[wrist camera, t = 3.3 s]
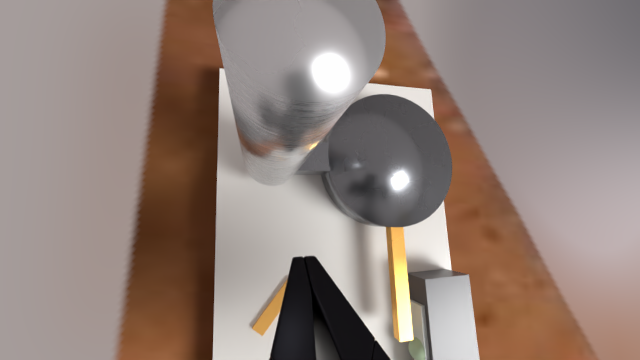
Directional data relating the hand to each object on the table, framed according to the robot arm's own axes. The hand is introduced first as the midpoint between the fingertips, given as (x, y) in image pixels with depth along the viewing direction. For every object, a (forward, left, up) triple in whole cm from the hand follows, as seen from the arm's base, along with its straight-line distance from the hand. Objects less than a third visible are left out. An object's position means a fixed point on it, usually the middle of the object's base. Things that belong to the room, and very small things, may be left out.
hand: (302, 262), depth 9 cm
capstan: (+2, -4, -5) cm, 7 cm away
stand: (0, -4, -7) cm, 8 cm away
